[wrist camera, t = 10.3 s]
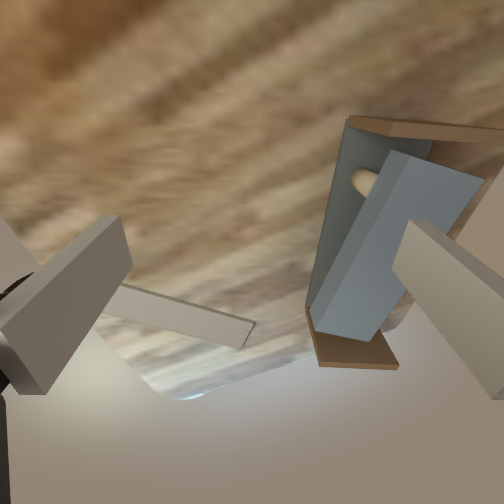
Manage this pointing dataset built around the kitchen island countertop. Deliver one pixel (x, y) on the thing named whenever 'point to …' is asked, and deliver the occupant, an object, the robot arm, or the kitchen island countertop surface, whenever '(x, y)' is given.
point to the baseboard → (178, 316)
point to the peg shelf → (350, 203)
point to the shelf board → (386, 242)
